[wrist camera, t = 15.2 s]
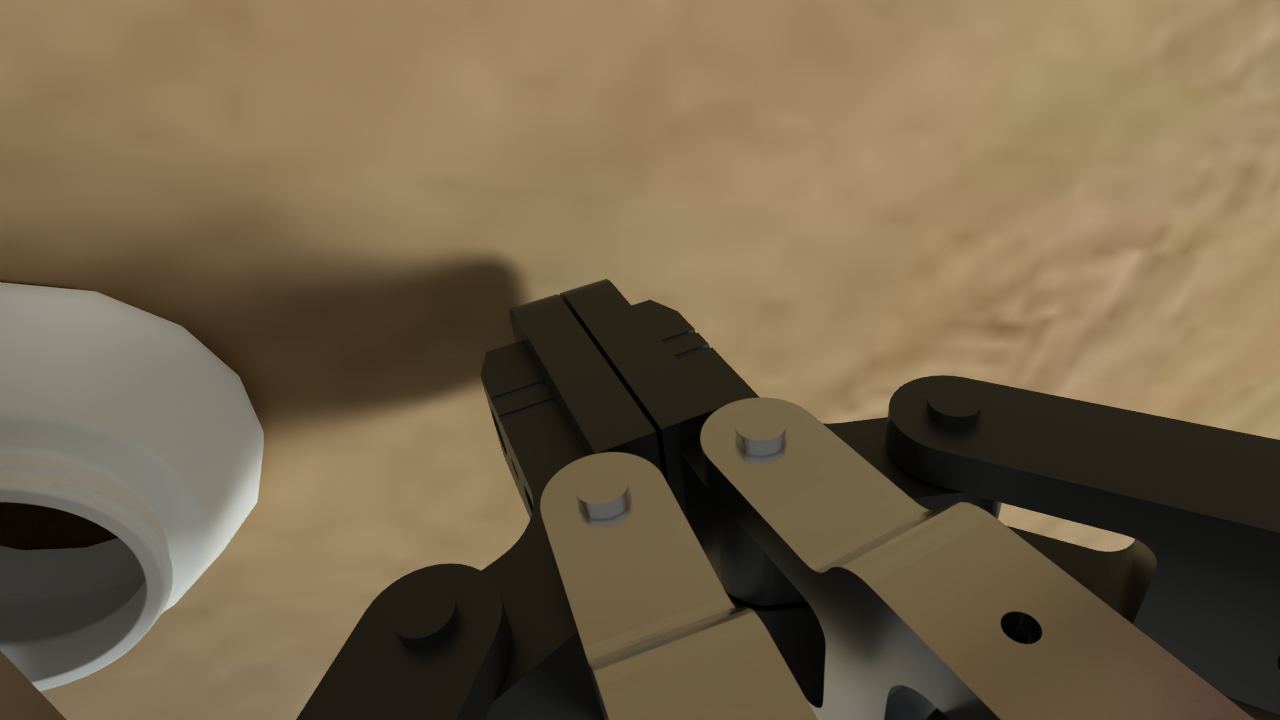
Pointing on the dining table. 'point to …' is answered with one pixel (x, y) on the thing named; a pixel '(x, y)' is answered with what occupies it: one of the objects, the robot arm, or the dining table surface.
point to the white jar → (112, 472)
